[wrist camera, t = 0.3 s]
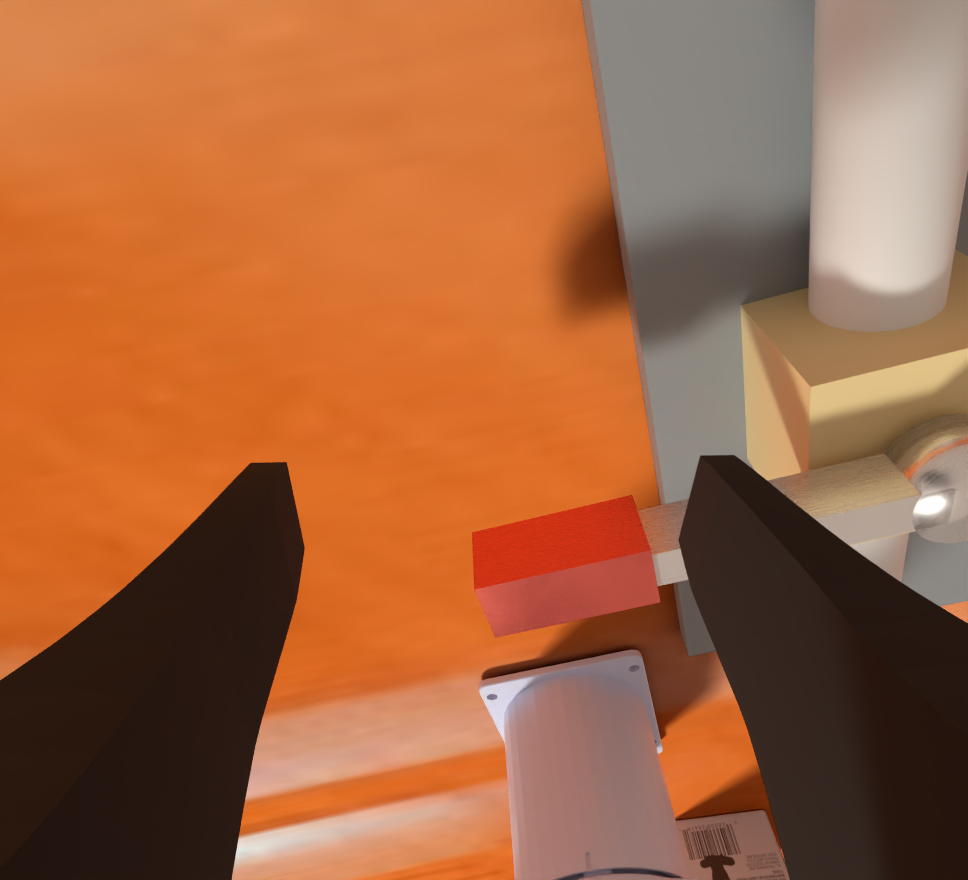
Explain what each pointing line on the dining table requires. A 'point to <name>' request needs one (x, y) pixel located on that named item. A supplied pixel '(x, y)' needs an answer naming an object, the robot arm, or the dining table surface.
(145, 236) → the dining table surface
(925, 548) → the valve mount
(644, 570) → the valve lever
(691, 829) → the coffee box
